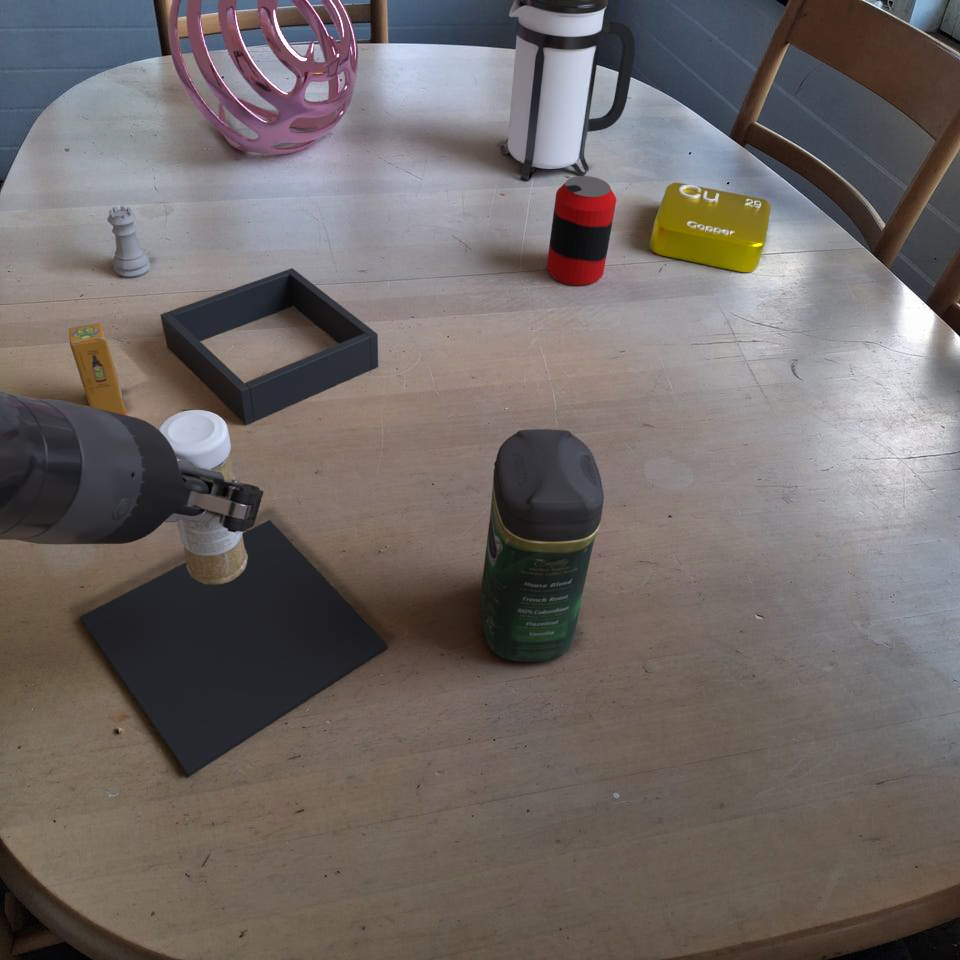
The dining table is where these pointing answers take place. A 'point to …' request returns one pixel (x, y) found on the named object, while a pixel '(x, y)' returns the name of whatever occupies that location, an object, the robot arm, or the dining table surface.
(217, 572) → the sprinkles bottle
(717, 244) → the element tile
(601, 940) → the dining table surface
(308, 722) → the dining table surface
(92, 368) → the supplement box
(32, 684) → the dining table surface
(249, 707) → the mat
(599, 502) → the coffee jar
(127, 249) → the rook chess piece
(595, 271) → the soda can
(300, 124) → the spiral basket
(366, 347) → the dark grey square frame
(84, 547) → the dining table surface
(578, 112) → the coffee press
